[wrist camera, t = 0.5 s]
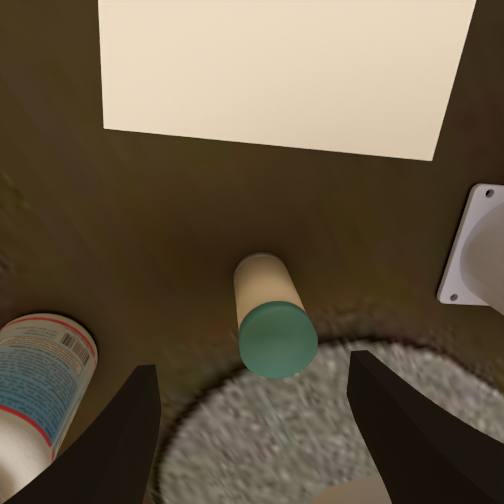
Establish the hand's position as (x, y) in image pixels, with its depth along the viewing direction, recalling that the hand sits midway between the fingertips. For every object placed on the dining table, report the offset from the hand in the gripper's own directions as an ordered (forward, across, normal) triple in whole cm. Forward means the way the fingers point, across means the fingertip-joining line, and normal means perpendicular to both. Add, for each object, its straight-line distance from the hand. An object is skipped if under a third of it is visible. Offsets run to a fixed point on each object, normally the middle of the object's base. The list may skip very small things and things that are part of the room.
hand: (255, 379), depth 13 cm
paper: (+10, -3, -14) cm, 17 cm away
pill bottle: (+10, +12, +5) cm, 17 cm away
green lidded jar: (+10, -1, +1) cm, 10 cm away
